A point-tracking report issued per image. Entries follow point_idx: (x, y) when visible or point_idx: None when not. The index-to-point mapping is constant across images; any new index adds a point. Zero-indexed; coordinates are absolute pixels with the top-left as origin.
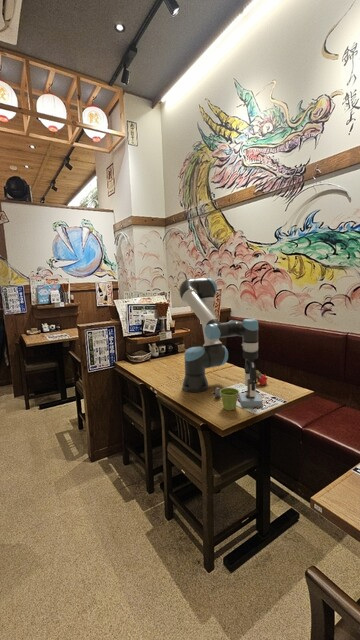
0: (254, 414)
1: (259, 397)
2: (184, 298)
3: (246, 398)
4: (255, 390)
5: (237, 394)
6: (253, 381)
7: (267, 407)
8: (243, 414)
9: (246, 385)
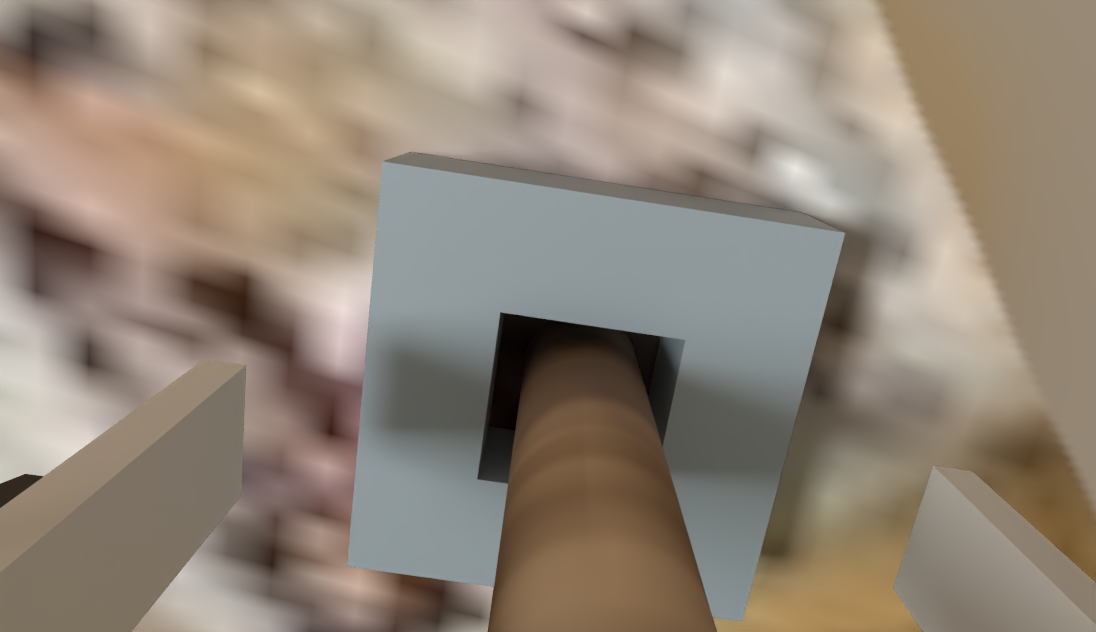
0: (1039, 447)
1: (653, 228)
2: None
3: None
4: (1083, 581)
5: None
6: (672, 595)
7: (858, 124)
8: None
9: (234, 479)
